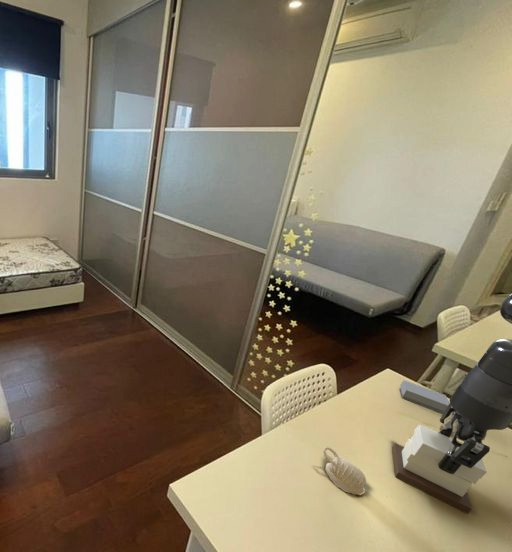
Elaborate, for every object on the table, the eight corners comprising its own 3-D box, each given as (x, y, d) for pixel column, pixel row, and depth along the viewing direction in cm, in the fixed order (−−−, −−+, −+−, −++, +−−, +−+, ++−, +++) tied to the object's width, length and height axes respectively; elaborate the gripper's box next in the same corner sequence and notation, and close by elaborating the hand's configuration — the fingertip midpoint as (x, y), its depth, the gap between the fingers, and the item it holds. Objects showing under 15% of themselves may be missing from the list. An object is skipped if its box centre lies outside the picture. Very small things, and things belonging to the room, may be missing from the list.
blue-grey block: (440, 407, 86) (448, 396, 85) (444, 419, 82) (452, 408, 81) (396, 389, 91) (403, 379, 89) (398, 400, 87) (405, 389, 85)
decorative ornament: (358, 502, 60) (370, 484, 58) (312, 467, 66) (322, 449, 64) (365, 490, 62) (377, 473, 60) (320, 457, 68) (330, 440, 66)
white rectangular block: (472, 456, 63) (477, 449, 62) (480, 479, 59) (487, 472, 58) (414, 430, 68) (418, 424, 67) (417, 450, 63) (422, 443, 63)
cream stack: (457, 478, 67) (477, 453, 64) (467, 514, 60) (491, 489, 57) (391, 447, 73) (407, 423, 70) (395, 476, 66) (412, 452, 63)
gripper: (538, 433, 50) (477, 499, 57) (506, 383, 61) (458, 444, 67) (472, 407, 53) (422, 473, 60) (453, 365, 64) (413, 425, 71)
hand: (441, 457), depth 64 cm, fingers closed on white rectangular block, 6 cm apart
